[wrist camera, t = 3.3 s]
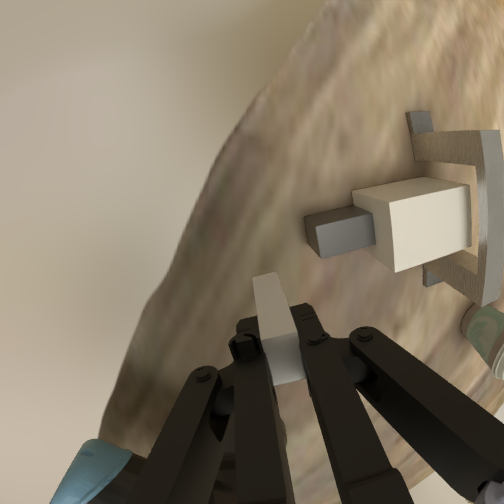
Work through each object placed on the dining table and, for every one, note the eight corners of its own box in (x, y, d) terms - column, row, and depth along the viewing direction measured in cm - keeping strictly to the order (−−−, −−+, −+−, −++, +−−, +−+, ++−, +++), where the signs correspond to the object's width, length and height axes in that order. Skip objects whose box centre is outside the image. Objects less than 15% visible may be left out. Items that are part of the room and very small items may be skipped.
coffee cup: (470, 289, 33) (524, 327, 22) (496, 297, 35) (544, 331, 23) (445, 340, 36) (490, 386, 24) (474, 343, 37) (515, 382, 25)
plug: (311, 258, 30) (335, 290, 23) (300, 202, 29) (324, 217, 21) (431, 226, 30) (474, 244, 23) (426, 176, 28) (473, 184, 21)
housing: (423, 285, 32) (477, 327, 22) (405, 113, 26) (474, 101, 15) (440, 278, 32) (495, 317, 22) (425, 111, 26) (494, 102, 15)
